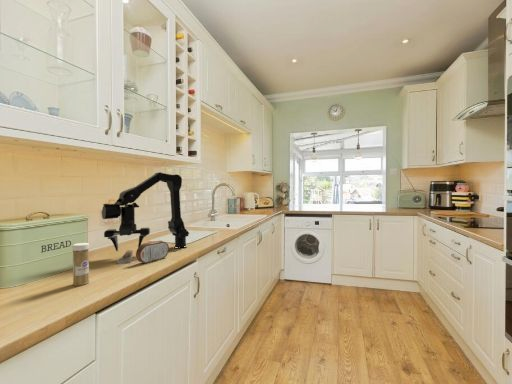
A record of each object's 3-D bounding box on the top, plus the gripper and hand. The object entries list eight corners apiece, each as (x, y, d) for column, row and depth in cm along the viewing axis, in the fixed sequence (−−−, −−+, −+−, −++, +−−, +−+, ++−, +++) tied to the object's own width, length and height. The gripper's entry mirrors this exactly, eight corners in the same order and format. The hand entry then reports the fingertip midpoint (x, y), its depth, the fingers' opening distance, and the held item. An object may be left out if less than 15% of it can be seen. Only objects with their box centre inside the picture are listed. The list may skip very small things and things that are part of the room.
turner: (124, 255, 122) (124, 251, 122) (135, 254, 124) (135, 250, 124) (117, 264, 107) (117, 259, 107) (130, 263, 109) (130, 258, 109)
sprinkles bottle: (81, 286, 82) (81, 245, 82) (69, 285, 82) (68, 245, 82) (92, 281, 86) (92, 242, 86) (80, 280, 87) (80, 242, 87)
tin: (165, 256, 119) (165, 238, 119) (170, 257, 117) (170, 239, 117) (135, 264, 106) (135, 244, 106) (139, 265, 105) (139, 245, 105)
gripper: (100, 220, 108) (100, 256, 108) (147, 218, 114) (147, 252, 114) (107, 217, 119) (107, 250, 119) (149, 216, 124) (150, 247, 124)
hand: (128, 250), depth 119 cm, fingers open, 9 cm apart
